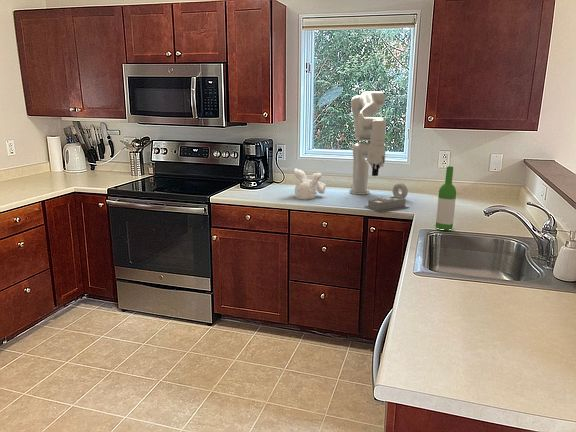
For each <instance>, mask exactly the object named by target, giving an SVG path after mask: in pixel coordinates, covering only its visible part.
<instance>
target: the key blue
mask: <svg viewBox="0 0 576 432" xmlns="http://www.w3.org/2000/svg"><path fill="white" fill-rule="evenodd" d="M388 197H389V196H387V197H381V199H382V200H385V201H392V200H393V199H392V198H388Z"/></svg>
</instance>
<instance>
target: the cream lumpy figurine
mask: <svg viewBox="0 0 576 432" xmlns="http://www.w3.org/2000/svg"><path fill="white" fill-rule="evenodd" d="M293 171H294V172H293V173H294V176H295V179H296V180H297V181H300V182H298V183H296V185H295V187H294V194H295V199H296V200H305V201H306V200H312V199H315V198H316V195H317V194H320V195H321V194H324V193H325V192H326V186H327V184H326V183H324V182H321V178H322V175H323V172H314V173H313V174H312V175H311V177H310V179H309V178H307V175H306V173H305V171H303V170H302V169H300V168H299V169H298V168H296V167H294V169H293ZM317 192H318V193H317Z"/></svg>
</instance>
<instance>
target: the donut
mask: <svg viewBox="0 0 576 432" xmlns="http://www.w3.org/2000/svg"><path fill="white" fill-rule="evenodd" d="M399 189H400V190H401V193H400V192H399ZM408 193H409V191H408V188H407V186H406V185H405V184H404V183H401V182H398V183H396V184H395V185H393V187H392V194H393V196H397V197H400V198H404V199H406V198H407V196H408Z"/></svg>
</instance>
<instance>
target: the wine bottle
mask: <svg viewBox="0 0 576 432" xmlns="http://www.w3.org/2000/svg"><path fill="white" fill-rule="evenodd" d="M445 172H446V173H445V179H444V180H445V181H444V184H442V185H441V186H440V188H439V189H438V199H437V205H436V206H437V208H436V217H435V229H436V228H439V229H444V230H449V229H453V227H454V225H453V224H454V217H455V207H456V198H457V197H456V196H457V188H456V187H455V186H454V184H453V177H454V176H453V175H454V166H452V165H451V166H450V165H449V166H446V170H445Z"/></svg>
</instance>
